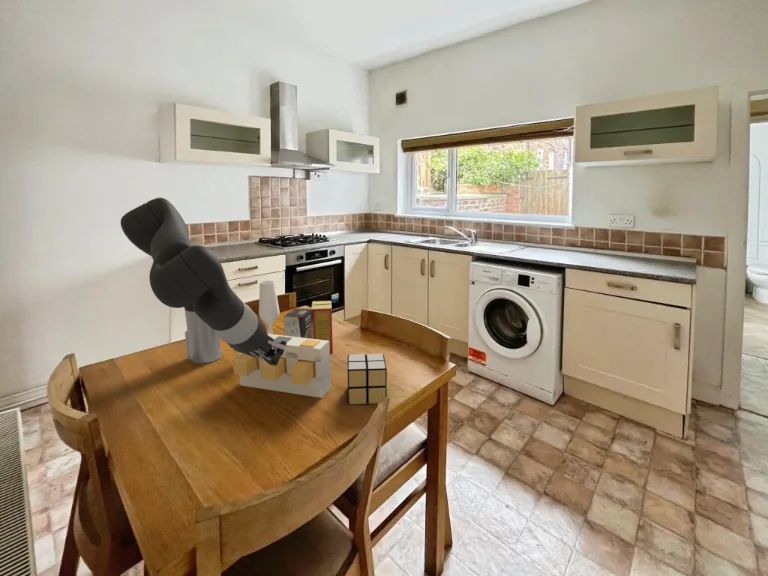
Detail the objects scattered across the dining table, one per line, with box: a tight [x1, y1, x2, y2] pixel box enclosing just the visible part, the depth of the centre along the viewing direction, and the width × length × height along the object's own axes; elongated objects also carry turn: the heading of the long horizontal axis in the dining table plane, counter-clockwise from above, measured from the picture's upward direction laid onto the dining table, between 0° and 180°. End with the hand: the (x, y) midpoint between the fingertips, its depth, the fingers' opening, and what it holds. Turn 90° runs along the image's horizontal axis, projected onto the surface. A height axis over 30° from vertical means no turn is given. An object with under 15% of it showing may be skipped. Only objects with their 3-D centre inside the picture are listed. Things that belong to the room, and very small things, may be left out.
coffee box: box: [283, 307, 314, 339], centre depth 132 cm, size 9×6×16 cm
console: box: [237, 333, 331, 399], centre depth 114 cm, size 25×6×14 cm, turn 74°
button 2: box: [261, 357, 287, 381], centre depth 109 cm, size 4×6×4 cm
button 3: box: [290, 360, 315, 385], centre depth 107 cm, size 4×6×4 cm
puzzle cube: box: [347, 353, 388, 406], centre depth 110 cm, size 10×10×10 cm
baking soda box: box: [311, 300, 334, 354], centre depth 142 cm, size 10×6×16 cm
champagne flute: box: [258, 280, 280, 334], centre depth 138 cm, size 7×7×24 cm
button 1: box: [232, 353, 259, 376], centre depth 112 cm, size 4×6×4 cm
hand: (275, 361), depth 92 cm, fingers closed
